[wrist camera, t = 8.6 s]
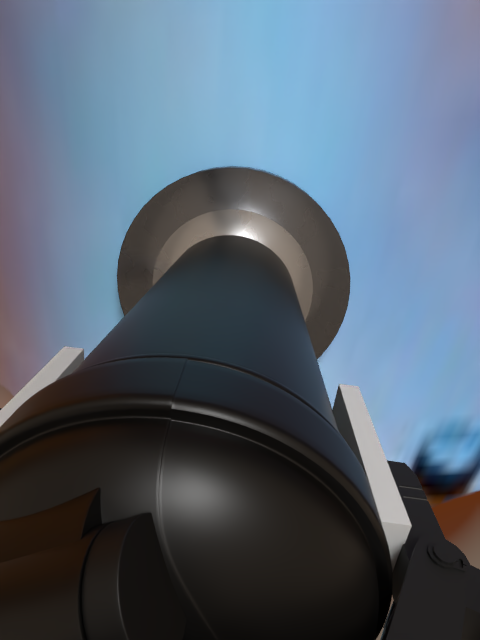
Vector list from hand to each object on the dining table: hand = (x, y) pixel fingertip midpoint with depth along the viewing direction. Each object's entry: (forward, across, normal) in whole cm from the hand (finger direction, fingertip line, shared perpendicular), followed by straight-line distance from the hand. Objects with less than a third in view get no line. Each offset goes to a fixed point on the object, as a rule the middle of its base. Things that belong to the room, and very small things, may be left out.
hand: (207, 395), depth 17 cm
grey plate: (+15, 0, 0) cm, 15 cm away
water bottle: (+12, 0, 0) cm, 12 cm away
